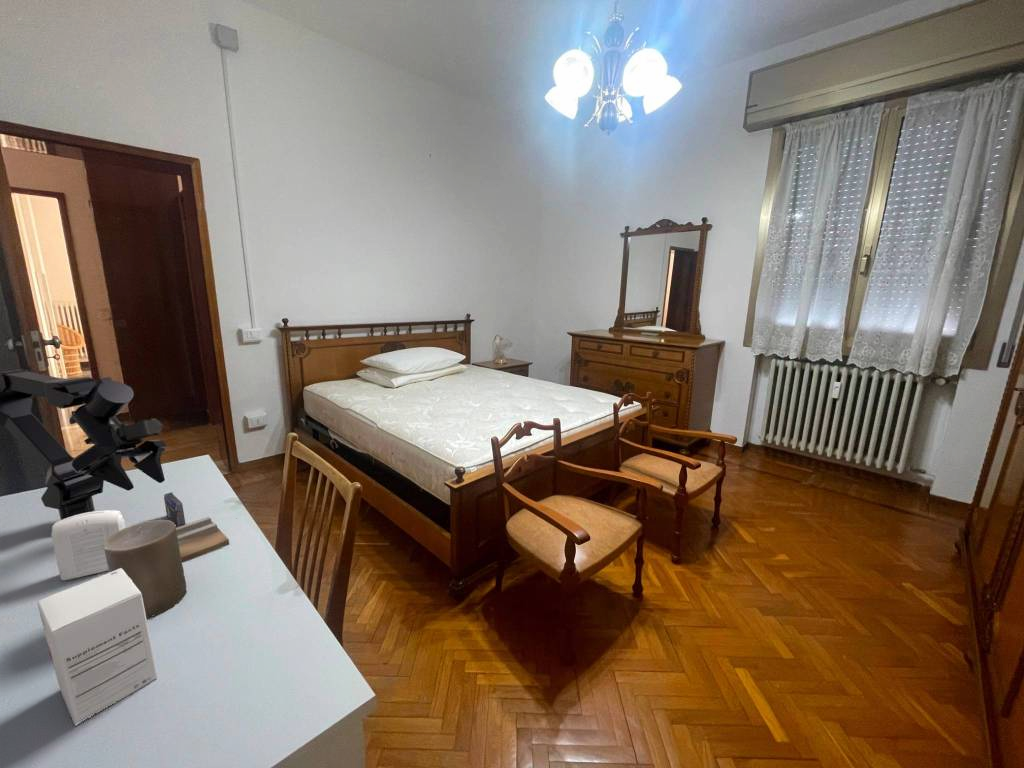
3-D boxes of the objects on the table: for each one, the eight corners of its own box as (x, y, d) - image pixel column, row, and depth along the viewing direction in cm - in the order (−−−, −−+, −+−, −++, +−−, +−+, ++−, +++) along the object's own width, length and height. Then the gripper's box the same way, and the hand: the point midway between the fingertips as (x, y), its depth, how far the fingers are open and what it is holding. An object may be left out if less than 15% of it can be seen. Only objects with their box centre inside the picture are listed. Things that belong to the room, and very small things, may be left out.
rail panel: (144, 543, 92) (142, 532, 92) (208, 521, 102) (207, 511, 101) (161, 570, 84) (158, 558, 83) (229, 544, 93) (227, 533, 92)
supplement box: (58, 690, 59) (34, 600, 56) (139, 647, 66) (122, 565, 63) (73, 729, 54) (48, 632, 51) (159, 678, 61) (142, 591, 58)
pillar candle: (199, 590, 79) (187, 518, 76) (140, 628, 70) (124, 548, 67) (164, 578, 82) (152, 508, 79) (103, 613, 73) (86, 536, 70)
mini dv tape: (167, 516, 103) (163, 494, 102) (174, 514, 104) (170, 492, 103) (178, 528, 99) (174, 505, 97) (185, 525, 100) (182, 503, 98)
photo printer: (133, 555, 88) (123, 502, 86) (129, 566, 85) (118, 511, 82) (64, 572, 83) (51, 515, 80) (57, 584, 79) (43, 526, 77)
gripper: (101, 405, 82) (150, 468, 83) (166, 406, 101) (206, 457, 101) (47, 439, 81) (97, 503, 81) (124, 434, 99) (164, 486, 100)
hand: (147, 485), depth 91 cm, fingers open, 9 cm apart
